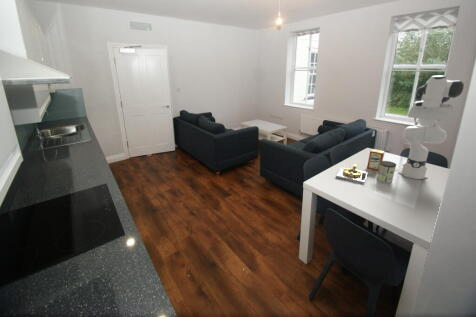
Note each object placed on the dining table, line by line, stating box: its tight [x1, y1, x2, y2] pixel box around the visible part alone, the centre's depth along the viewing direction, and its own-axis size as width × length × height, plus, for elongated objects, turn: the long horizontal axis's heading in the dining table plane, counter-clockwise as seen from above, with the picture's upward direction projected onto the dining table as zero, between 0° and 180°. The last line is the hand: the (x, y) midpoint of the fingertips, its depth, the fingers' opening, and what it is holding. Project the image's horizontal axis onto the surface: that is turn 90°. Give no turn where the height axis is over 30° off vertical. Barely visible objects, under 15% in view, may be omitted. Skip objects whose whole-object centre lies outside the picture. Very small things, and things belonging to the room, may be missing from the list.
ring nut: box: [343, 163, 363, 177], centre depth 185 cm, size 13×18×4 cm
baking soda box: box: [366, 148, 385, 172], centre depth 195 cm, size 10×6×16 cm
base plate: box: [335, 166, 369, 185], centre depth 184 cm, size 20×20×6 cm
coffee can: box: [376, 160, 397, 184], centre depth 175 cm, size 10×10×14 cm
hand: (425, 125), depth 146 cm, fingers open, 8 cm apart
